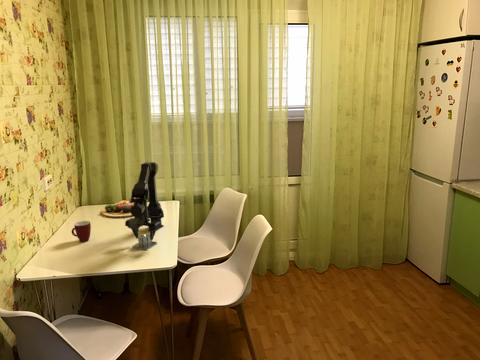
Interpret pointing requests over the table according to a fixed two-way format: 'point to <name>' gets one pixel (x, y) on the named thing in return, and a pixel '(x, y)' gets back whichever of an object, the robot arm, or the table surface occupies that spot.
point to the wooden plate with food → (119, 209)
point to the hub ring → (144, 240)
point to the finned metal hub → (144, 246)
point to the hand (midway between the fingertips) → (144, 239)
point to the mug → (82, 230)
